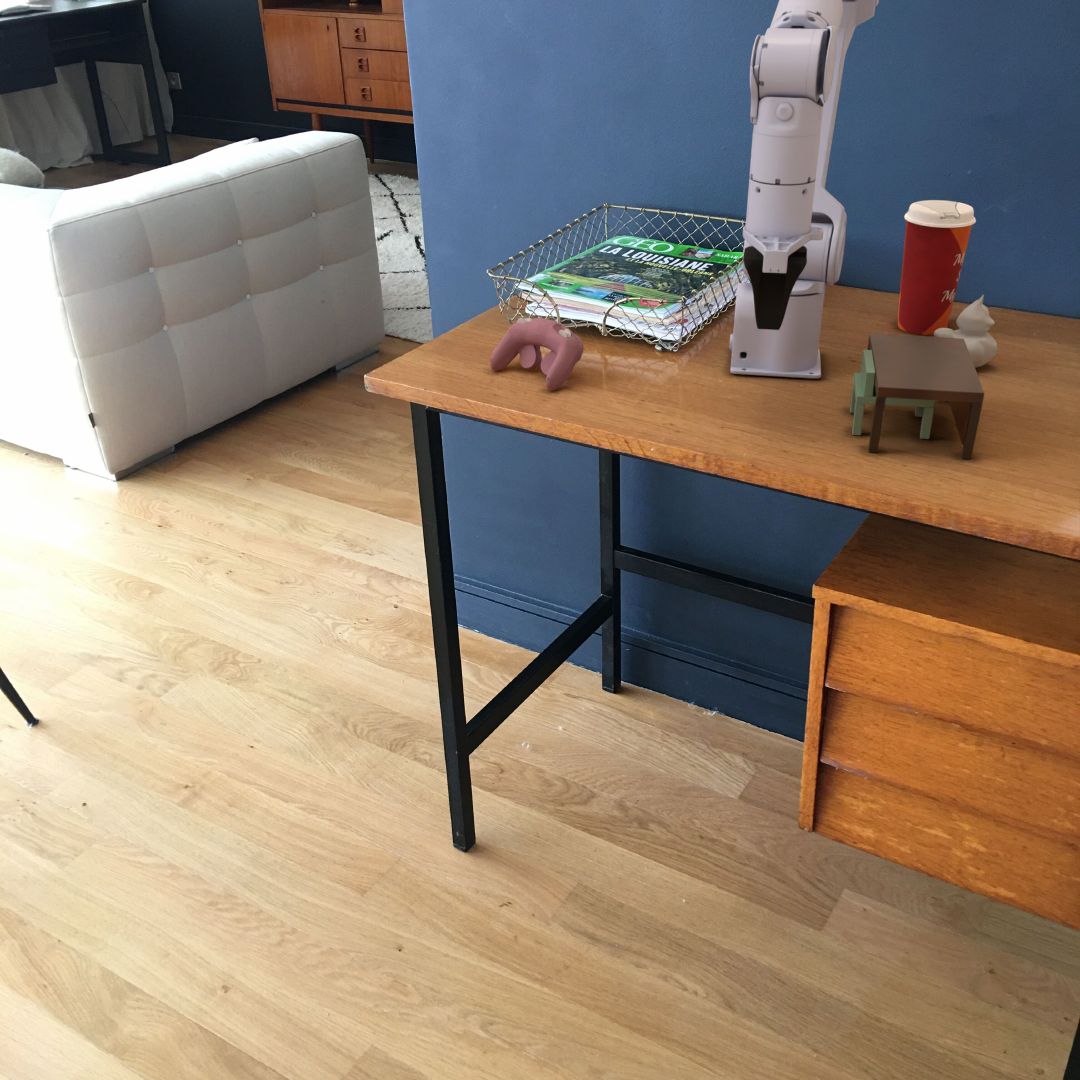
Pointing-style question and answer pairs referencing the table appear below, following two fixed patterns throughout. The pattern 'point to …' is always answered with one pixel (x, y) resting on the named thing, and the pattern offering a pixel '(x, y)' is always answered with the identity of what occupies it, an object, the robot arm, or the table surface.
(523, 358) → the video game controller
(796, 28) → the robot arm
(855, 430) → the green seat
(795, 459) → the table surface
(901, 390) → the desk
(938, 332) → the white sculpted figure
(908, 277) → the paper cup
